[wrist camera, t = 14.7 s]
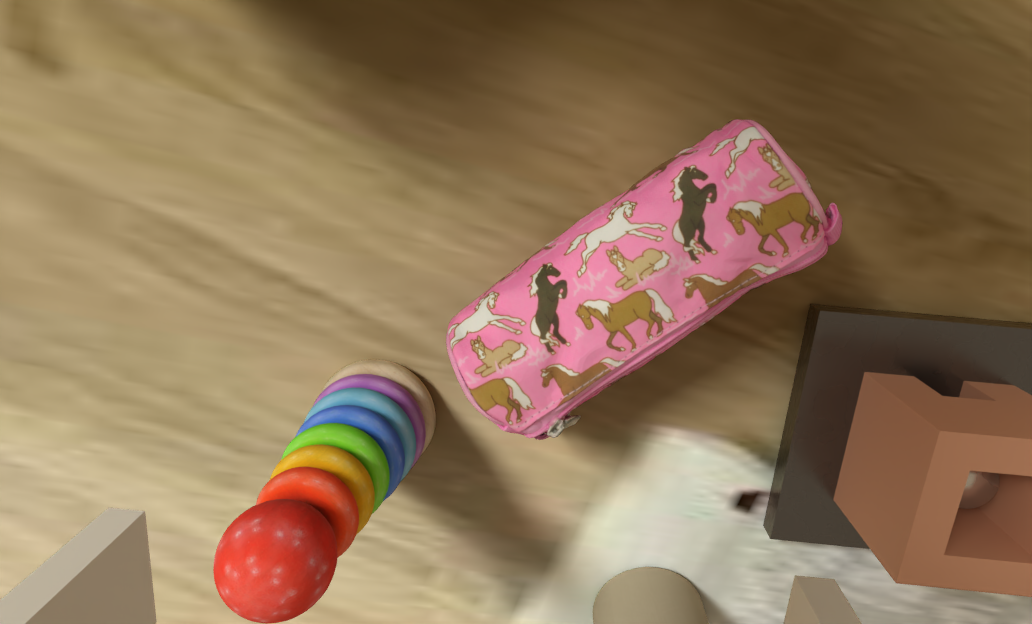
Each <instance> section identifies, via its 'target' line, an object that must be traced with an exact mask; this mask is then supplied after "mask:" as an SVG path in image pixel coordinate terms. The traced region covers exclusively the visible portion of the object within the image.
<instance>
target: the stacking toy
mask: <svg viewBox="0 0 1032 624" xmlns="http://www.w3.org/2000/svg"><path fill="white" fill-rule="evenodd" d="M435 423H436V414H435V407H434V403H433V400H432V397H431V395H430V393H429V391H428V390H427V388H426V387H425V385H424V384H423V383H422V381H421V380H420V379H419V378H418V377H417V376H416V375H415V374H414V373H412V372H411V371H410V370H408V369H407V368H405V367H403V366H401V365H399V364H397V363H394V362H391V361H386V360H380V359H368V360H361V361H357V362H354V363H352V364H349V365H347V366H345V367H344V368H342V369H340V370H339V371H338V372H336V373H335V374H334V375H333V376H332V377H331V378H330V380H329V381H328V382H327V383H326V385H325V387H324V388H323V390H322V393H321V394H320V395H319V397H318V398H317V399H316V401H315V403H314V405H313V407H312V409H311V410H310V412H309V413H308V415H307V417H306V419H305V421H304V424H303V425H302V426H301V428H300V429H299V431H298V433H297V434H296V437H295V438H294V439H293V440H292V441H291V442H290V444H289V445H288V446H287V448H286V450H285V451H284V454H283V456H282V459H281V461H280V462H279V463H278V465H277V466H276V468H275V469H274V471H273V473H272V475H271V478H270V481H269V482H268V483H267V484H266V485H265V486H264V488H263V489H262V491H261V492H260V494H259V497H258V499H257V503H256V505H255V506H253V507H251V508H250V509H248V510H246V511H245V512H244V513H242V514H241V515H240V516H239V517H238V518H236V519H235V520H234V521H233V522H232V524H231V525H230V526H229V527H228V528H227V530H226V531H225V533H224V534H223V536H222V538H221V540H220V542H219V545H218V547H217V550H216V554H215V559H214V579H215V584H216V587H217V590H218V592H219V594H220V597H221V598H222V599H223V601H224V602H225V604H226V605H227V606H228V607H229V608H230V609H231V610H232V611H234V612H235V613H236V614H238V615H239V616H241V617H243V618H245V619H247V620H250V621H254V622H259V623H277V622H282V621H286V620H290V619H292V618H295V617H297V616H298V615H300V614H302V613H304V612H305V611H307V610H308V609H309V608H311V607H312V606H313V605H314V604H315V603H316V602H317V601H318V600H319V599H320V598H321V597H322V595H323V594H324V593H325V591H326V590H327V588H328V586H329V584H330V582H331V580H332V577H333V575H334V572H335V568H336V564H337V558H338V557H339V556H341V555H342V554H343V553H344V552H345V551H346V550H347V549H348V548H349V547H350V545H351V544H352V542H353V540H354V538H355V536H356V534H357V533H359V532H360V531H361V530H362V529H363V527H364V526H365V525H366V524H367V522H368V520H369V518H370V516H371V514H372V513H374V512H375V511H376V510H377V509H378V507H379V506H380V505H381V503H382V502H383V501H384V500H385V499H386V498H388V497H389V496H390V495H391V494H392V493H393V492H394V490H395V489H396V488H397V486H398V484H399V483H400V482H401V481H402V480H403V479H404V477H405V476H406V475H407V473H408V472H409V470H410V469H411V468H412V467H413V466H414V465H415V463H416V462H417V460H418V459H419V457H420V456H421V455H422V454H423V452H424V451H425V450H426V448H427V447H428V445H429V443H430V441H431V439H432V437H433V434H434V430H435Z"/></svg>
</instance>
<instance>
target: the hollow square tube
mask: <svg viewBox="0 0 1032 624" xmlns="http://www.w3.org/2000/svg"><path fill="white" fill-rule="evenodd" d="M970 471H980V472H990V473H998V475H999V480H1000V483H999V488H998V491H997V492H996V494H995V496H994V497H993V498H992V499H991V500H990V501H989V502H987V503H986V504H984V505H982V506H980V507H977V508H972V509H962V508H959V504H960V501H961V498H962V495H963V492H964V488H965V485H966V482H967V479H968V475H969V472H970ZM833 500H834V501H835V503H836V504H837V505H838V507H839V508H840V509H841V511H842V512H843V513H844V515H845V516H846V517H847V519H848V520H849V521H850V523H851V524H852V525H853V527H854V528H855V529H856V531H857V532H858V533H859V535H860V536H861V537H862V539H863V540H864V541H865V543H866V544H867V545H868V547H869V548H870V549H871V551H872V552H873V553H874V555H875V556H876V557H877V558H878V560H879V561H880V562H881V564H882V565H883V566H884V568H885V569H886V570H887V572H888V573H889V574H890V576H891V577H892V578H893V580H894V581H895V582H896V583H900V584H910V585H920V586H930V587H940V588H949V589H959V590H969V591H979V592H989V593H999V594H1009V595H1019V596H1029V597H1032V395H1030V394H1029V393H1027V392H1025V391H1023V390H1021V389H1020V388H1018V387H1016V386H1014V385H1005V384H994V383H983V382H972V381H964V382H963V385H962V389H961V392H960V396H959V397H949V396H942V395H940V394H939V393H938V392H936V391H935V390H933V389H932V388H930V387H929V386H927V385H926V384H924V383H923V382H922V381H920V380H919V379H917V378H916V377H914V376H905V375H894V374H883V373H872V372H864V376H863V380H862V384H861V388H860V392H859V397H858V401H857V405H856V409H855V413H854V417H853V421H852V425H851V429H850V433H849V437H848V442H847V446H846V450H845V454H844V458H843V462H842V466H841V470H840V474H839V478H838V482H837V487H836V491H835V495H834V499H833Z"/></svg>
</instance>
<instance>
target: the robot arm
mask: <svg viewBox="0 0 1032 624" xmlns="http://www.w3.org/2000/svg"><path fill="white" fill-rule="evenodd" d="M155 623H156V612H155V603H154V593H153V583H152V574H151V564H150V554H149V545H148V535H147V525H146V516H145V511H139V510H129V509H119V508H109V507H108V508H107V509H106V510H105V511H104V512H103V513H101V514H100V515H99V516H98V517H97V518H95V519H94V520H93V521H92V522H91V523H90V524H88V525H87V526H86V527H85V528H84V529H83V530H81V531H80V532H79V533H78V534H77V535H76V536H74V537H73V538H72V539H71V540H70V541H69V542H67V543H66V544H65V545H64V546H63V547H61V548H60V549H59V550H58V551H57V552H56V553H54V554H53V555H52V556H51V557H50V558H49V559H47V560H46V561H45V562H44V563H43V564H42V565H40V566H39V567H38V568H37V569H36V570H35V571H33V572H32V573H31V574H30V575H29V576H27V577H26V578H25V579H24V580H23V581H22V582H20V583H19V584H18V585H17V586H16V587H15V588H13V589H12V590H11V591H10V592H9V593H8V594H6V595H5V596H4V597H3V598H2V599H0V624H155ZM784 624H862V623H861V622H860V620H859V618H858V617H857V615H856V614H855V612H854V610H853V609H852V607H851V606H850V604H849V602H848V601H847V599H846V598H845V596H844V594H843V593H842V591H841V589H840V588H839V586H838V585H837V583H836V581H835V580H834V579H825V578H815V577H805V576H795V577H794V581H793V586H792V590H791V594H790V599H789V603H788V607H787V612H786V616H785V620H784Z"/></svg>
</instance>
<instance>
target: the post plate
mask: <svg viewBox="0 0 1032 624" xmlns="http://www.w3.org/2000/svg"><path fill="white" fill-rule="evenodd" d="M864 372H872V373H883V374H894V375H905V376H914V377H916V378H917V379H919V380H920V381H922V382H923V383H924V384H926V385H927V386H929V387H930V388H932V389H933V390H935V391H936V392H938V393H939V394H940V395H942V396H949V397H959V396H960V392H961V389H962V385H963V382H964V381H972V382H983V383H994V384H1005V385H1014V386H1016V387H1018V388H1020V389H1021V390H1023V391H1025V392H1027V393H1029V394H1030V395H1032V323H1022V322H1010V321H998V320H987V319H975V318H964V317H952V316H941V315H929V314H918V313H906V312H895V311H883V310H872V309H860V308H849V307H837V306H826V305H814V304H810V308H809V313H808V318H807V322H806V327H805V332H804V337H803V341H802V346H801V351H800V355H799V360H798V365H797V370H796V374H795V379H794V384H793V388H792V393H791V398H790V402H789V407H788V412H787V417H786V421H785V426H784V431H783V435H782V440H781V445H780V450H779V454H778V459H777V464H776V468H775V473H774V478H773V483H772V487H771V492H770V497H769V501H768V506H767V511H766V515H765V520H764V525H763V526H764V528H765V529H766V531H767V533H768V535H769V537H770V539H778V540H788V541H798V542H808V543H818V544H828V545H838V546H848V547H858V548H868V549H870V548H869V547H868V545H867V544H866V543H865V541H864V540H863V539H862V537H861V536H860V535H859V533H858V532H857V531H856V529H855V528H854V527H853V525H852V524H851V523H850V521H849V520H848V519H847V517H846V516H845V515H844V513H843V512H842V511H841V509H840V508H839V507H838V505H837V504H836V503H835V501H834V500H833V499H834V495H835V491H836V487H837V482H838V478H839V474H840V470H841V466H842V462H843V458H844V454H845V450H846V446H847V442H848V437H849V433H850V429H851V425H852V421H853V417H854V413H855V409H856V405H857V401H858V397H859V392H860V388H861V384H862V380H863V376H864ZM999 483H1000V480H999V475H998V473H990V472H980V471H970V472H969V475H968V479H967V482H966V485H965V488H964V492H963V495H962V498H961V501H960V504H959V508H962V509H972V508H977V507H980V506H982V505H984V504H986V503H987V502H989V501H990V500H991V499H992V498H993V497H994V496H995V494H996V492H997V491H998V488H999Z"/></svg>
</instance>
